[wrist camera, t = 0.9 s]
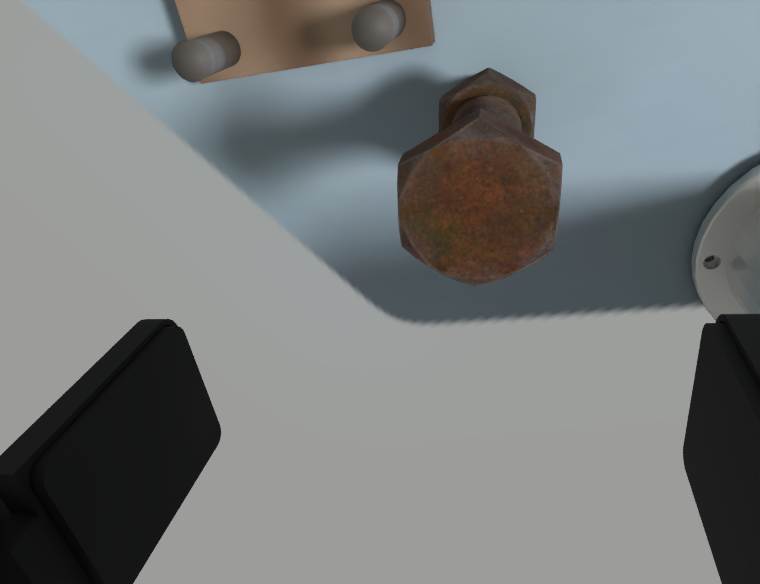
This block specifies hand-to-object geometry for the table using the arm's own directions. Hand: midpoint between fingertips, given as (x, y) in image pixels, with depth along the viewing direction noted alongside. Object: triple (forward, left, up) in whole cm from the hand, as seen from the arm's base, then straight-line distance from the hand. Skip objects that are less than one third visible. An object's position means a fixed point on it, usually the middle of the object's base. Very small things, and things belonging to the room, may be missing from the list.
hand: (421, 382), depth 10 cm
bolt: (-1, 0, -24) cm, 24 cm away
